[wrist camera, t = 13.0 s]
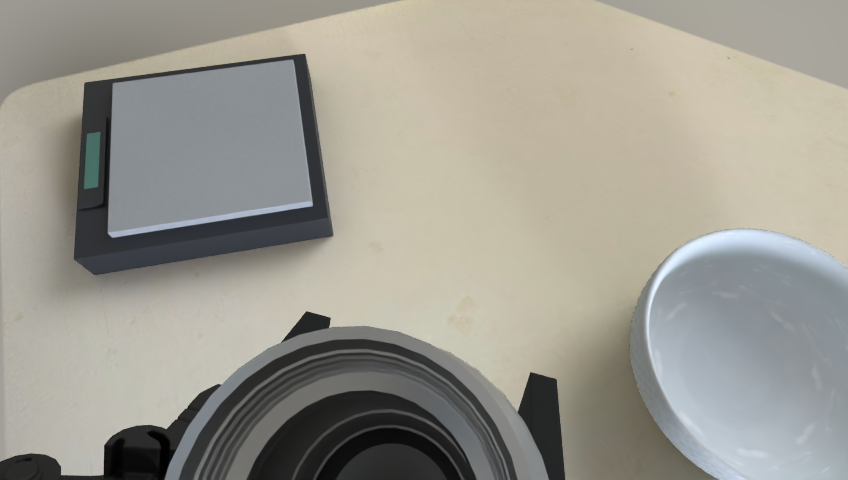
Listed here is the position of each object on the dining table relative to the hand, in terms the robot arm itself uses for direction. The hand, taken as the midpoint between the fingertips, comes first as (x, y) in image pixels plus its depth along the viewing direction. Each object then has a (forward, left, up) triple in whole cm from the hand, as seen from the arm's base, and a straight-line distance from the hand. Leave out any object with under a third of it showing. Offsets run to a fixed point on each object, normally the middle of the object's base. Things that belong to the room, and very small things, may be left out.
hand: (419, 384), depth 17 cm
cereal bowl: (+23, +1, -24) cm, 33 cm away
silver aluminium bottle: (-2, -3, -9) cm, 9 cm away
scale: (-12, +25, -24) cm, 37 cm away
